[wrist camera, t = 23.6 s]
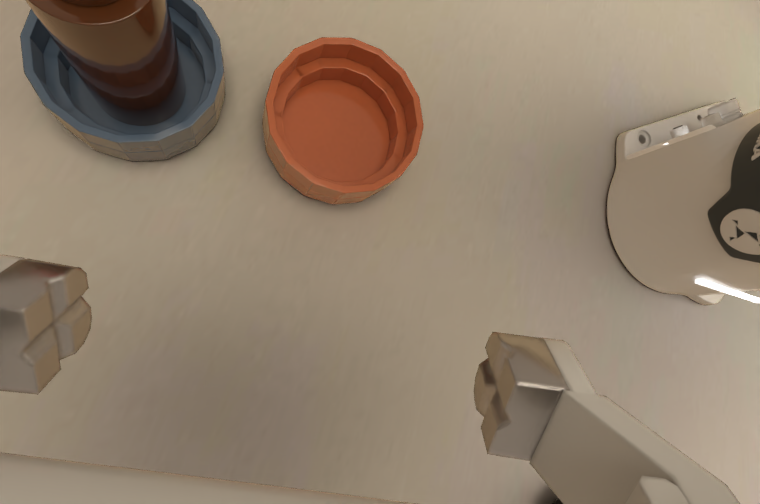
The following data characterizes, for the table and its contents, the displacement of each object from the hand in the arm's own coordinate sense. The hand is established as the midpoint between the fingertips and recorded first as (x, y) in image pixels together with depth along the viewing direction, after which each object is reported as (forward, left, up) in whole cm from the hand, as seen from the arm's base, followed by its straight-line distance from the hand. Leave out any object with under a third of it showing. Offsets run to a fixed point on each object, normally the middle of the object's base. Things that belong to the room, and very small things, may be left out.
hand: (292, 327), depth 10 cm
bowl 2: (-12, -8, -25) cm, 29 cm away
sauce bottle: (-1, -17, -25) cm, 30 cm away
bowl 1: (-1, -17, -25) cm, 31 cm away
